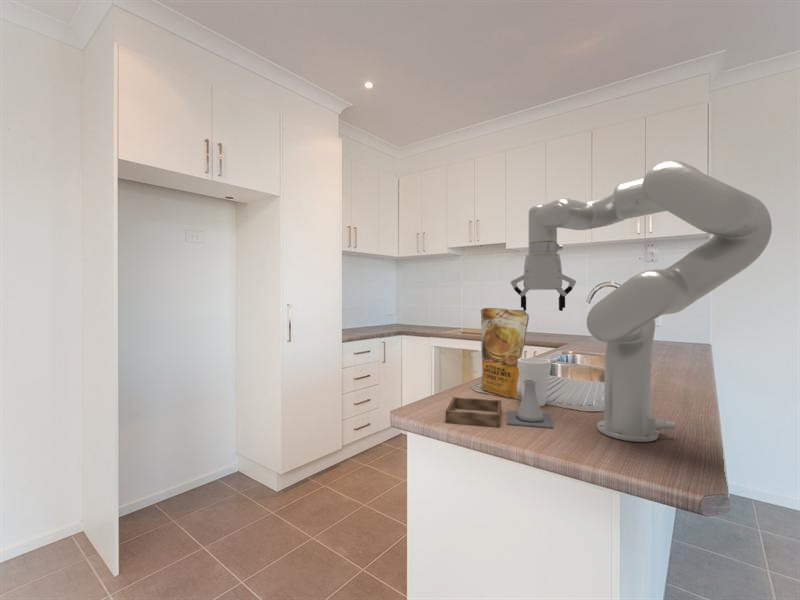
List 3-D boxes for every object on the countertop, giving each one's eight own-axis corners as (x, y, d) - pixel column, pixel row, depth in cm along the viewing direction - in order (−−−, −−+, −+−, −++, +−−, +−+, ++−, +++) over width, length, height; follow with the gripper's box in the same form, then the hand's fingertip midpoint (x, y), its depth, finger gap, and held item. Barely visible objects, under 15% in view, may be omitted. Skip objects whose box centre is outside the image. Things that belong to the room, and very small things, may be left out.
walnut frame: (501, 410, 111) (501, 400, 111) (499, 427, 98) (499, 415, 98) (453, 407, 115) (453, 397, 115) (445, 422, 102) (445, 410, 102)
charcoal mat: (549, 414, 107) (549, 413, 107) (553, 428, 97) (553, 427, 97) (507, 411, 110) (507, 410, 110) (506, 424, 100) (507, 423, 100)
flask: (540, 414, 107) (540, 377, 106) (547, 423, 99) (547, 383, 99) (512, 413, 107) (512, 377, 107) (518, 422, 100) (518, 383, 100)
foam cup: (515, 398, 123) (515, 357, 123) (546, 399, 122) (546, 357, 122) (520, 407, 114) (520, 363, 114) (553, 408, 113) (554, 363, 112)
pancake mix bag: (488, 385, 140) (487, 307, 140) (530, 397, 124) (530, 309, 123) (473, 388, 137) (473, 308, 136) (515, 401, 121) (515, 310, 120)
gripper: (573, 250, 112) (573, 310, 112) (510, 252, 117) (510, 309, 117) (578, 247, 105) (577, 311, 105) (510, 249, 109) (510, 311, 110)
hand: (542, 310), depth 111 cm, fingers open, 9 cm apart
